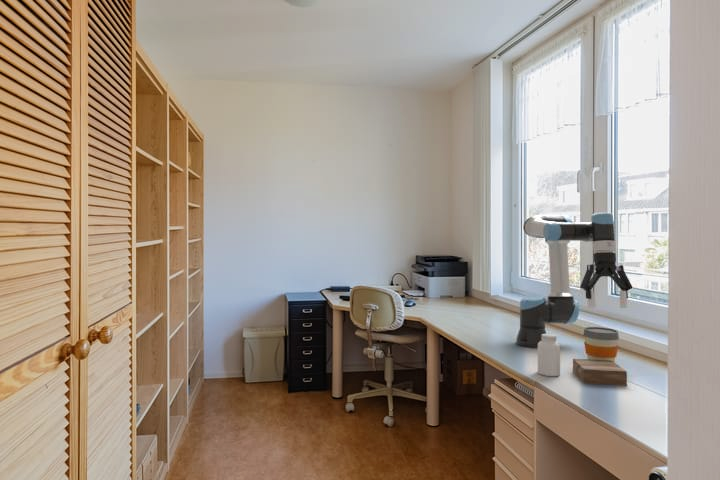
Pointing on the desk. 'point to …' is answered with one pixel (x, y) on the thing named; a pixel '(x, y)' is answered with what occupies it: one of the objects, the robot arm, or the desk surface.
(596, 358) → the reusable coffee cup
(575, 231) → the robot arm
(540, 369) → the pill bottle
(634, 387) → the desk surface
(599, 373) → the walnut base
